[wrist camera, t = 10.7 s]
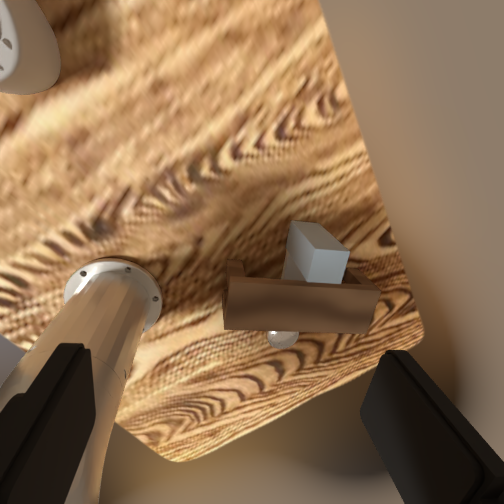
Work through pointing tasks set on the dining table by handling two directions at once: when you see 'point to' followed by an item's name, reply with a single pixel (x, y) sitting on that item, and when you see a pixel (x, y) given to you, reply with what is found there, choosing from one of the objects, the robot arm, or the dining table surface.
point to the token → (282, 338)
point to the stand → (298, 303)
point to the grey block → (313, 254)
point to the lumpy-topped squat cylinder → (26, 49)
